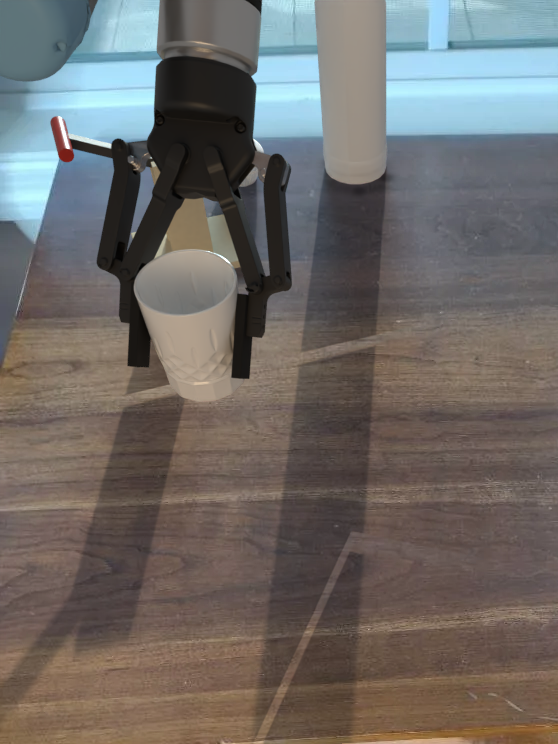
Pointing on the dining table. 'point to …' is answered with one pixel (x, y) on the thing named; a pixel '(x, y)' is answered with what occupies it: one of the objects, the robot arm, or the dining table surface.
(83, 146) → the lever
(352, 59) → the bottle
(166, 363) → the white cup
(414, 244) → the dining table surface
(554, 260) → the dining table surface
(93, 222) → the dining table surface
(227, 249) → the bracket
